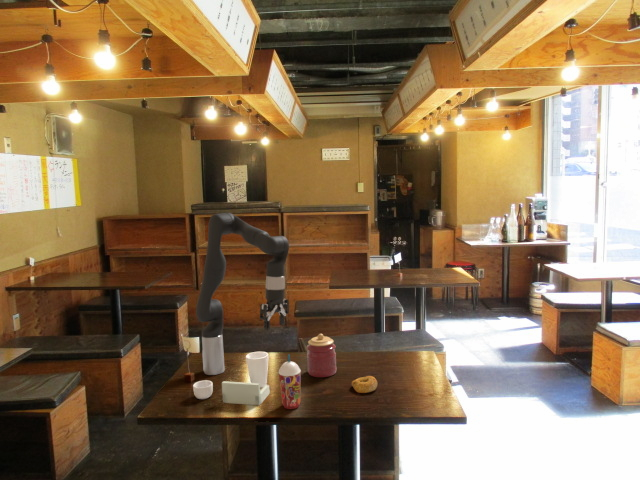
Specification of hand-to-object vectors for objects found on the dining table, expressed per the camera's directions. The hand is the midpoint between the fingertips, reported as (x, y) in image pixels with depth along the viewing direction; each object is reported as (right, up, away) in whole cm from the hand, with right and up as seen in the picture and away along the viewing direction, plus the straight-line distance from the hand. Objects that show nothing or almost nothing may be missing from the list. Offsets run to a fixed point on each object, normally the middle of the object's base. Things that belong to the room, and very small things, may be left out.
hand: (274, 327), depth 193 cm
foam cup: (-8, -27, +13) cm, 31 cm away
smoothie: (+7, -28, -9) cm, 31 cm away
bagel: (+36, -26, +5) cm, 45 cm away
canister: (+19, -25, +25) cm, 40 cm away
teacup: (-29, -29, +5) cm, 41 cm away
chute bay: (-11, -28, +1) cm, 30 cm away
